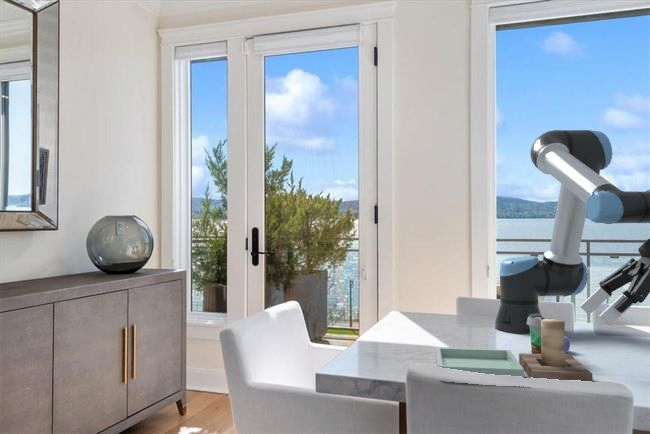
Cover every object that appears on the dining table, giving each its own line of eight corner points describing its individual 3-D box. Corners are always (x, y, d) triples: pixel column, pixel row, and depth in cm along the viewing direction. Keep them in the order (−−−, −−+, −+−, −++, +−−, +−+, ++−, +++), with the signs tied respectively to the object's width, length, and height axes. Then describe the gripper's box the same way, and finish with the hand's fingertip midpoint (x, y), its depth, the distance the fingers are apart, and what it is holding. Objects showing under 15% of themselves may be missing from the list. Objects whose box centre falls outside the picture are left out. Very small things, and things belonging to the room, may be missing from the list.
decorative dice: (548, 350, 143) (548, 336, 143) (556, 348, 145) (556, 334, 145) (562, 353, 140) (562, 338, 140) (570, 351, 142) (570, 336, 142)
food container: (518, 350, 144) (518, 313, 144) (540, 349, 144) (540, 313, 144) (541, 362, 131) (540, 321, 131) (564, 361, 132) (564, 321, 132)
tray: (435, 359, 135) (435, 347, 135) (509, 362, 131) (509, 349, 131) (438, 379, 117) (438, 366, 117) (524, 383, 114) (524, 369, 114)
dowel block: (519, 363, 130) (519, 353, 130) (571, 365, 128) (571, 355, 128) (533, 382, 114) (532, 371, 114) (592, 385, 112) (592, 373, 112)
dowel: (539, 370, 124) (538, 318, 124) (561, 371, 123) (561, 319, 123) (544, 376, 119) (543, 322, 119) (567, 377, 118) (567, 323, 118)
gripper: (709, 264, 104) (628, 339, 107) (653, 257, 129) (588, 317, 131) (679, 237, 105) (600, 312, 108) (629, 235, 130) (565, 296, 132)
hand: (593, 315), depth 119 cm, fingers open, 13 cm apart
